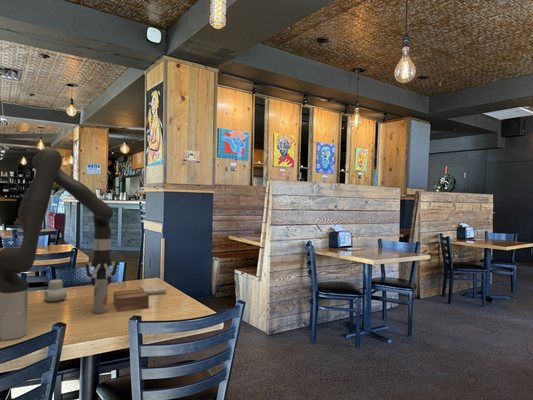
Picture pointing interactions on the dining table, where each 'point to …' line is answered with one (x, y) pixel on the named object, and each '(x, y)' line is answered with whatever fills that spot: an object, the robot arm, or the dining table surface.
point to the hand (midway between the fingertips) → (101, 284)
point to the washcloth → (153, 289)
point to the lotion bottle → (100, 292)
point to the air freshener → (55, 291)
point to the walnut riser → (130, 300)
